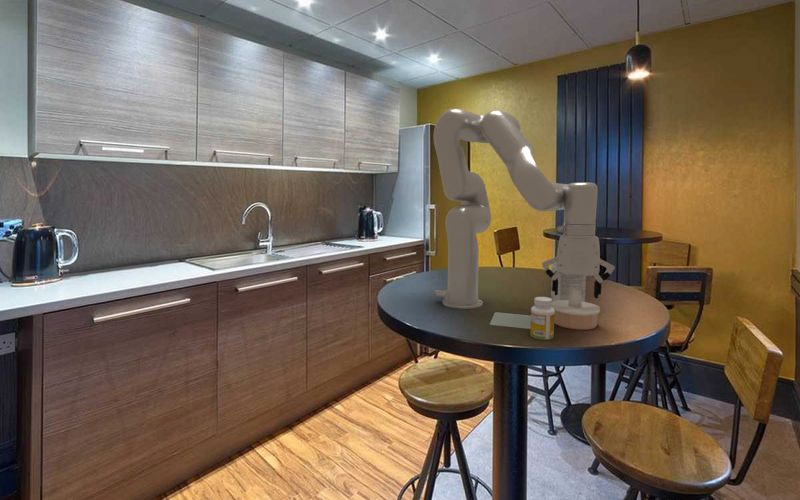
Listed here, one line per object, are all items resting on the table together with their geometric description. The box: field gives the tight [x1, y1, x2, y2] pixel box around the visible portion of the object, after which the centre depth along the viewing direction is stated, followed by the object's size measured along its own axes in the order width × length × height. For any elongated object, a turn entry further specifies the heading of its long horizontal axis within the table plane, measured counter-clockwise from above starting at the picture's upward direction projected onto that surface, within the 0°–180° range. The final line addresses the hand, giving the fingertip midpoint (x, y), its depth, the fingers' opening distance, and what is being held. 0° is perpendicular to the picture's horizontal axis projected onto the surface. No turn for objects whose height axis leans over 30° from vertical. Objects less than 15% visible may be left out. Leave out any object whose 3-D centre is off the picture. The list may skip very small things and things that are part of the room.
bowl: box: [554, 310, 599, 330], centre depth 104 cm, size 11×11×4 cm
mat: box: [489, 311, 531, 330], centre depth 107 cm, size 12×12×1 cm
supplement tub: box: [550, 263, 587, 302], centre depth 119 cm, size 10×10×15 cm
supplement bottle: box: [529, 296, 555, 340], centre depth 94 cm, size 5×5×10 cm
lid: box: [551, 288, 601, 316], centre depth 103 cm, size 12×12×5 cm
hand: (575, 295), depth 103 cm, fingers open, 9 cm apart
